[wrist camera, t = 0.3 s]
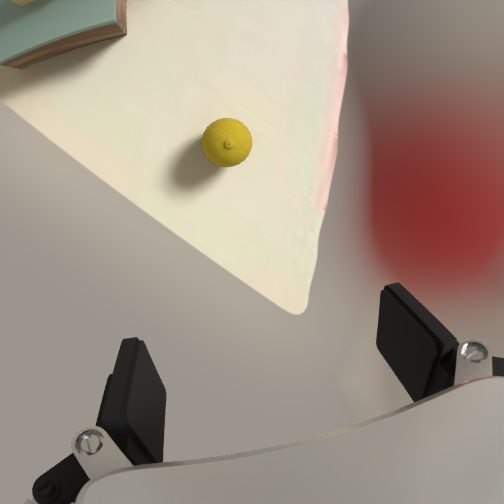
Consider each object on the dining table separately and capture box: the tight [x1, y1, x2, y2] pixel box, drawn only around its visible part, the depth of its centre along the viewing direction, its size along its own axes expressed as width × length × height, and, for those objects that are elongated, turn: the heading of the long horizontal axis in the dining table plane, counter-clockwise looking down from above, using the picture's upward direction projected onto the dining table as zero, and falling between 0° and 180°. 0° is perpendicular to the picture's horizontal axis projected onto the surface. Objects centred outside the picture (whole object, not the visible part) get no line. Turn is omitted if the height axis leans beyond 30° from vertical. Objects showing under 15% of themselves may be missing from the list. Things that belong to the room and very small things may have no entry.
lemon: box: [202, 118, 252, 167], centre depth 34 cm, size 6×6×8 cm
